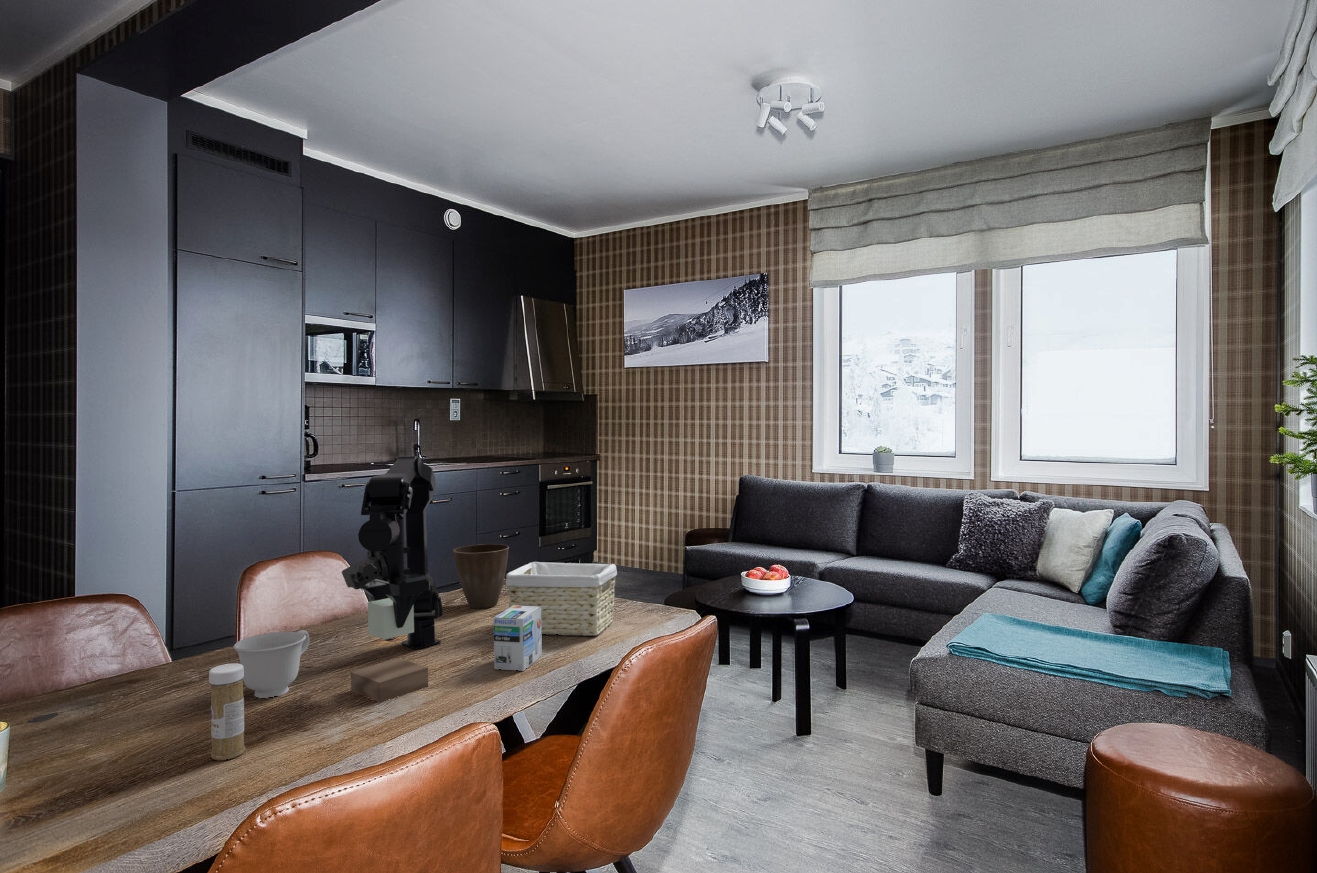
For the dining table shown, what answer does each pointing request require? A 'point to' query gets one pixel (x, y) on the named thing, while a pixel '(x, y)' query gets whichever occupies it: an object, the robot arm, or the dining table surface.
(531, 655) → the light bulb box
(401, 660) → the walnut block
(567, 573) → the storage basket
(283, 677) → the teacup
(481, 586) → the plant pot
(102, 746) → the dining table surface
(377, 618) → the sage cube
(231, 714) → the sprinkles bottle
